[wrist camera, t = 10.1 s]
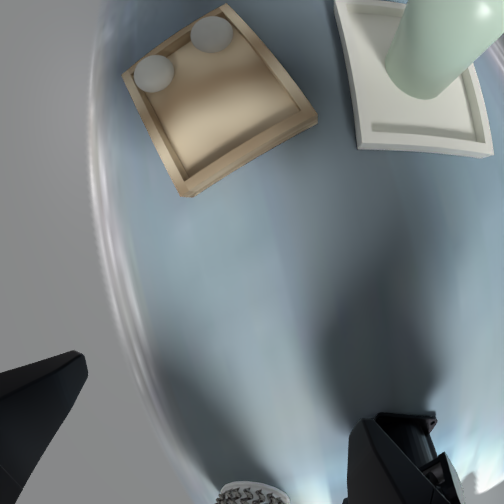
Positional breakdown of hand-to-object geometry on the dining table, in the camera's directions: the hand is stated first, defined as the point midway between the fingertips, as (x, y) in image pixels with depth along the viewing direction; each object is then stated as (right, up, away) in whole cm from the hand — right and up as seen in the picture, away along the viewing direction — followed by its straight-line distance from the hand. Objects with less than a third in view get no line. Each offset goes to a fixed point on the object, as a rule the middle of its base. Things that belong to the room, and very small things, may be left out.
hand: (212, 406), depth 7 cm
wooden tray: (-2, +16, +11) cm, 19 cm away
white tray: (+13, +17, +7) cm, 23 cm away
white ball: (-1, +20, +9) cm, 22 cm away
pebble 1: (-6, +18, +11) cm, 21 cm away
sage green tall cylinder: (+12, +17, +7) cm, 22 cm away
